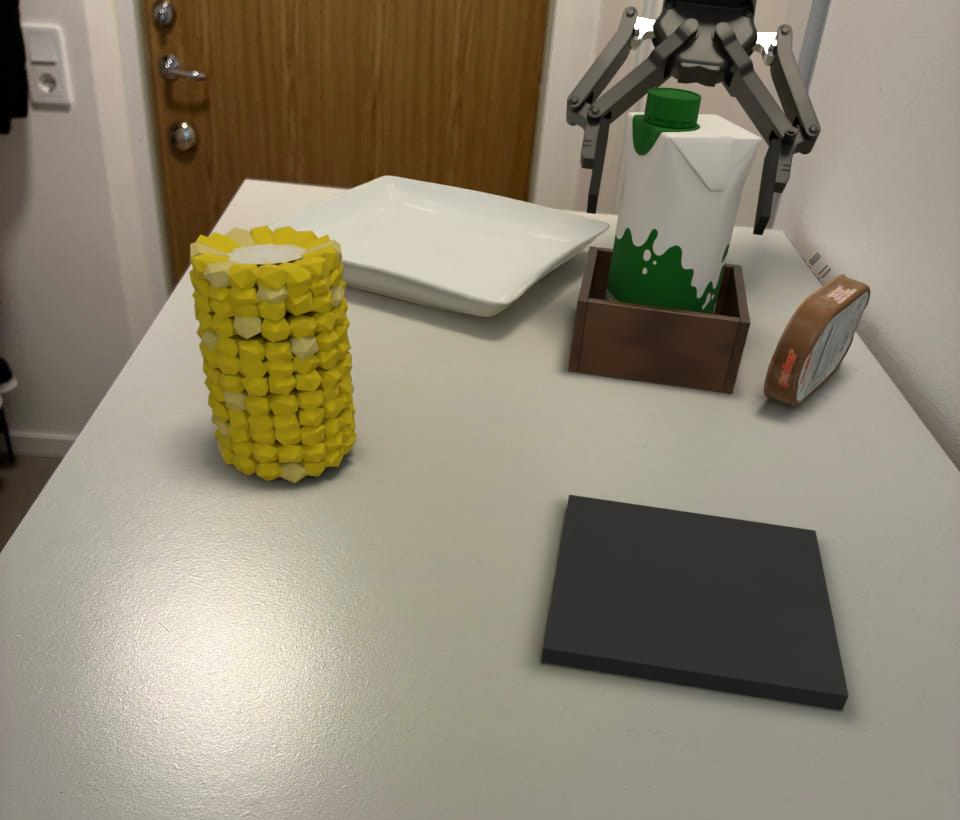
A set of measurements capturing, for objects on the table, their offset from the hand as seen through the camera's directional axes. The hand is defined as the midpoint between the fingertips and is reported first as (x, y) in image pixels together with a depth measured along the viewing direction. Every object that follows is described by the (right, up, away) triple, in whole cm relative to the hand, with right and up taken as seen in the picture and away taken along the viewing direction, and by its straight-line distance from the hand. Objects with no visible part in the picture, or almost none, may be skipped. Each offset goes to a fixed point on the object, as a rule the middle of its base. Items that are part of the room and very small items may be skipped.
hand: (676, 215), depth 79 cm
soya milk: (-1, -9, +7) cm, 12 cm away
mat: (-3, -31, -21) cm, 38 cm away
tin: (+11, -13, +4) cm, 18 cm away
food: (-29, -21, -11) cm, 38 cm away
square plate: (-20, +3, +20) cm, 28 cm away
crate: (-1, -9, +7) cm, 11 cm away
